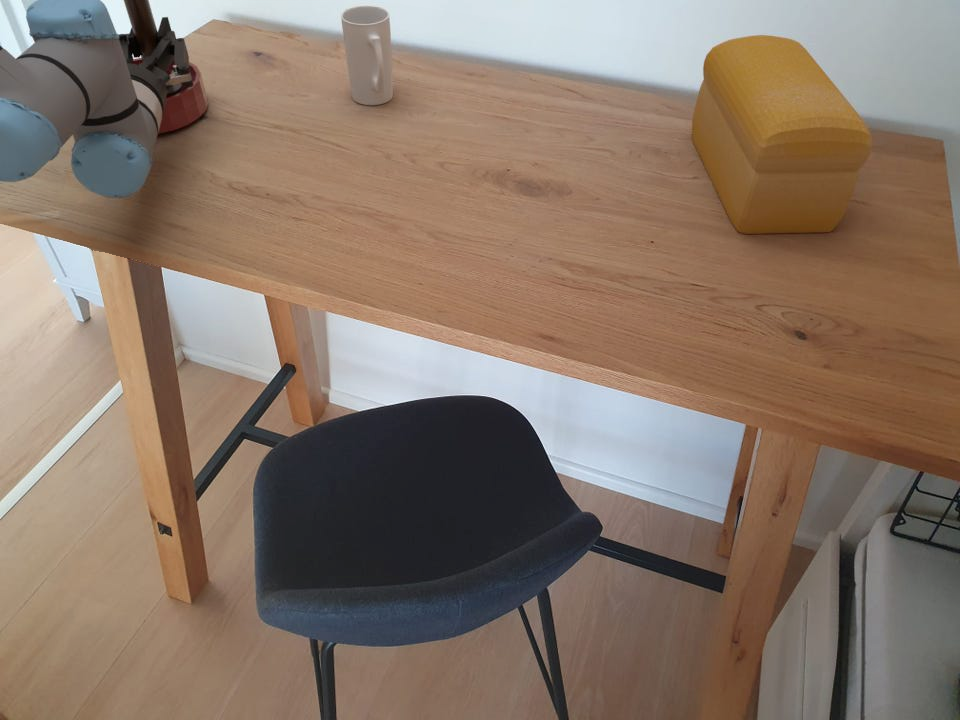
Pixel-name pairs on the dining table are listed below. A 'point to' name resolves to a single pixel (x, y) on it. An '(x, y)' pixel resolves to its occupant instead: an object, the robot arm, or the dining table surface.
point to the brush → (146, 32)
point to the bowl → (183, 102)
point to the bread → (777, 137)
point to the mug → (368, 54)
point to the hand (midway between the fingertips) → (154, 27)
